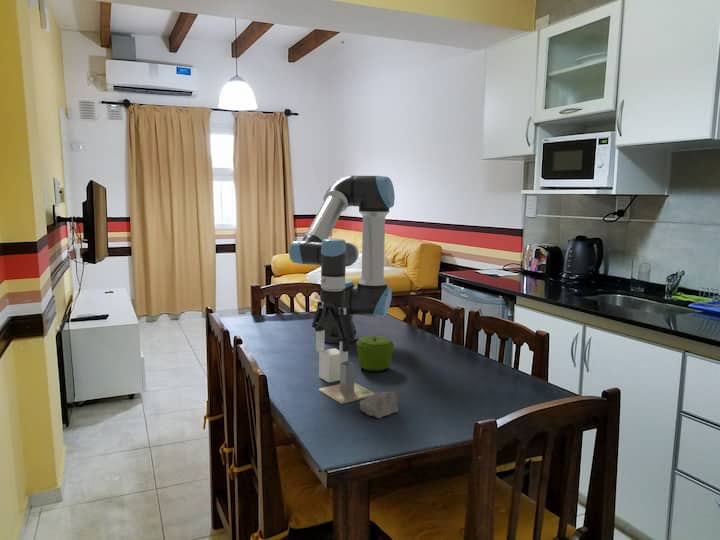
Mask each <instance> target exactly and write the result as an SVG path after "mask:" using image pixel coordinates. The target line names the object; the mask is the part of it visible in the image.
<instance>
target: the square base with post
mask: <svg viewBox="0 0 720 540" xmlns="http://www.w3.org/2000/svg"><path fill="white" fill-rule="evenodd" d="M355 371H356V366H355V363H353V362H351V361H349V360H348V361H345V362H343V363H340V380H339V383H338V384H334V385H329V386H325V387H321V388H318V391H319V392H320V393H322V394H324V395H326V396H327V397H328V398H331V399H332V400H334V401H335V402H337V403H339V404H340V405H342V404H343V405H344V404H347V403H351V402H355V401H360V400H364V399H365V398H367V397H369V396H372V395H373V394H375V393H376V392H373V391H372V390H370V389H368V388H366V387H364V386H362V385H361V384H358V383H356V382H355Z"/></svg>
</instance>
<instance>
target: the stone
mask: <svg viewBox="0 0 720 540" xmlns="http://www.w3.org/2000/svg"><path fill="white" fill-rule="evenodd" d="M374 393H375V394H373V395H372V396H369V397H367V398H363V399H361V400H359V408H360V411H361V412H363V413H365V414H366V415H367V416H371V417H374V418H377V419H382V418H383V417H386V416H390V415H391V414H394V413H398V411H399V407H398V405H399V403H398V395H397V394H398V393H397V392H396V391H392V392H390V391H378V392H377V391H376V392H374Z"/></svg>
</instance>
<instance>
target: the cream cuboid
mask: <svg viewBox="0 0 720 540" xmlns="http://www.w3.org/2000/svg"><path fill="white" fill-rule="evenodd" d="M339 350H340V349H337V348H336V347H333V348H328V349H324V350H322V351H318V378H320V379H322V380H323V381H325V382H327V383H332V382H333V383H334V382H337V381H340V363H343V362H339Z"/></svg>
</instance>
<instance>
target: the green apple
mask: <svg viewBox="0 0 720 540" xmlns="http://www.w3.org/2000/svg"><path fill="white" fill-rule="evenodd" d="M355 344H356V352H357V357H358V366H359V367H360V368H362V369H364V370H365V371H368V372H380V371H381V372H382V371H383V370H386V369H387V368H389V367H390V366H391V363H392V357H393V354H394V353H393V352H394V347H395V346H394V345H395V344H394V343H393V341H392V340H391V339H390V338H388V337H385V336H378V335H365V336H363V337H360V338H359V339H357V340H356V342H355Z"/></svg>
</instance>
